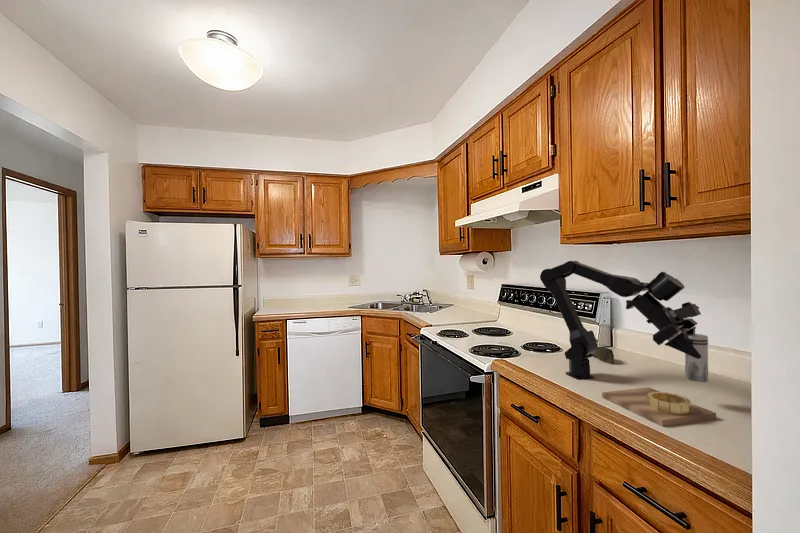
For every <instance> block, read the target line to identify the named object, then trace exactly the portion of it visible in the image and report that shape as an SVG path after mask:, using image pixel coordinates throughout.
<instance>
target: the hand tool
mask: <svg viewBox="0 0 800 533" xmlns="http://www.w3.org/2000/svg"><path fill="white" fill-rule="evenodd" d="M593 356H594V357H596V358H598V360H599V361H601V362H604V363H608V364H610V365H611V364H614V360H615V359H614V358H615V355H614V352H613V349H611V348H608V347H605V346H601V347H600V346H598V348H597V350H596V351H595V352H594V353H593V355H592V357H593Z"/></svg>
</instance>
